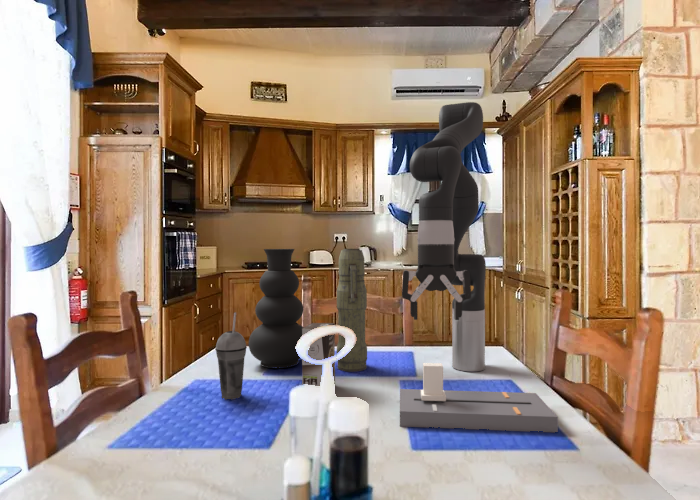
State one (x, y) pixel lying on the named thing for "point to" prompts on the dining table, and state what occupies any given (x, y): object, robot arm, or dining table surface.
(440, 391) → the fader tab
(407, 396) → the fader console
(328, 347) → the dark grey printed box
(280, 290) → the vase
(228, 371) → the beverage cup
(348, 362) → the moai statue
